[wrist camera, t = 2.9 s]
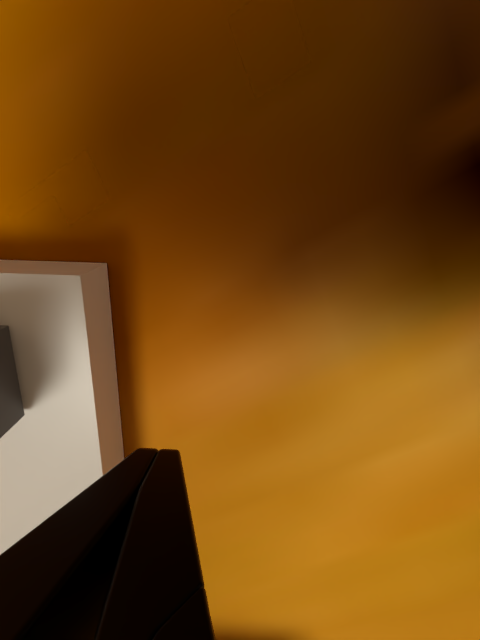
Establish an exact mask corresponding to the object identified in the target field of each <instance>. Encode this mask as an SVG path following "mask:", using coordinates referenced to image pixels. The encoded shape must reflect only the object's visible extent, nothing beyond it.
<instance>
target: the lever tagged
mask: <svg viewBox="0 0 480 640" xmlns="http://www.w3.org/2000/svg"><path fill="white" fill-rule="evenodd" d="M24 415H25V414H24V408H23V403H22V397H21V392H20V386H19V381H18V375H17V370H16V364H15V359H14V353H13V348H12V342H11V337H10V331H9V326H8V325H0V438H1V437H2V436H3V435H4V434H5V433H6V432H8V431H9V430H10V429H11V428H12V427H13V426H14V425H15V424H16V423H17V422H18V421H19V420H20V419H21V418H22V417H23V416H24Z"/></svg>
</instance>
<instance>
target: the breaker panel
mask: <svg viewBox="0 0 480 640" xmlns="http://www.w3.org/2000/svg"><path fill="white" fill-rule="evenodd" d="M0 325H8V326H9V331H10V337H11V342H12V348H13V353H14V359H15V364H16V370H17V375H18V381H19V386H20V392H21V397H22V403H23V408H24V414H25V415H24V416H23V417H22V418H21V419H20V420H19V421H18V422H17V423H16V424H15V425H14V426H13V427H12V428H11V429H10V430H9V431H8V432H6V433H5V434H4V435H3V436H2V437H1V438H0V554H2V553H3V552H4V551H6V550H7V549H8V548H10V547H11V546H12V545H13V544H15V543H16V542H17V541H19V540H20V539H21V538H23V537H24V536H25V535H26V534H28V533H29V532H30V531H32V530H33V529H34V528H35V527H37V526H38V525H39V524H41V523H42V522H43V521H45V520H46V519H47V518H48V517H50V516H51V515H52V514H54V513H55V512H56V511H58V510H59V509H60V508H61V507H63V506H64V505H65V504H67V503H68V502H69V501H71V500H72V499H73V498H74V497H76V496H77V495H78V494H80V493H81V492H82V491H83V490H85V489H86V488H87V487H89V486H90V485H91V484H93V483H94V482H95V481H96V480H98V479H99V478H100V477H102V476H103V475H104V474H106V473H107V472H108V471H109V470H111V469H112V468H113V467H115V466H116V465H117V464H119V463H120V462H121V461H122V460H124V450H123V439H122V428H121V416H120V405H119V394H118V383H117V371H116V360H115V349H114V338H113V326H112V315H111V304H110V293H109V281H108V270H107V263H91V262H59V261H27V260H0Z"/></svg>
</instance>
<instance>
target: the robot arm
mask: <svg viewBox="0 0 480 640" xmlns="http://www.w3.org/2000/svg"><path fill="white" fill-rule="evenodd" d="M0 640H216V639H215V635H214V630H213V626H212V621H211V617H210V612H209V607H208V601H207V596H206V591H205V589H204V581H203V576H202V570H201V565H200V559H199V554H198V548H197V543H196V538H195V532H194V527H193V521H192V516H191V511H190V505H189V500H188V494H187V489H186V483H185V478H184V473H183V467H182V462H181V456H180V452H179V451H178V450H173V449H161V450H159V451H158V450H157V449H152V448H139V449H137V450H135V451H134V452H133V453H131V454H130V455H129V456H128V457H126V458H125V459H124V460H122V461H121V462H120V463H119V464H117V465H116V466H115V467H113V468H112V469H111V470H109V471H108V472H107V473H106V474H104V475H103V476H102V477H100V478H99V479H98V480H96V481H95V482H94V483H93V484H91V485H90V486H89V487H87V488H86V489H85V490H83V491H82V492H81V493H80V494H78V495H77V496H76V497H74V498H73V499H72V500H71V501H69V502H68V503H67V504H65V505H64V506H63V507H61V508H60V509H59V510H58V511H56V512H55V513H54V514H52V515H51V516H50V517H48V518H47V519H46V520H45V521H43V522H42V523H41V524H39V525H38V526H37V527H35V528H34V529H33V530H32V531H30V532H29V533H28V534H26V535H25V536H24V537H23V538H21V539H20V540H19V541H17V542H16V543H15V544H13V545H12V546H11V547H10V548H8V549H7V550H6V551H4V552H3V553H2V554H0Z"/></svg>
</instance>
